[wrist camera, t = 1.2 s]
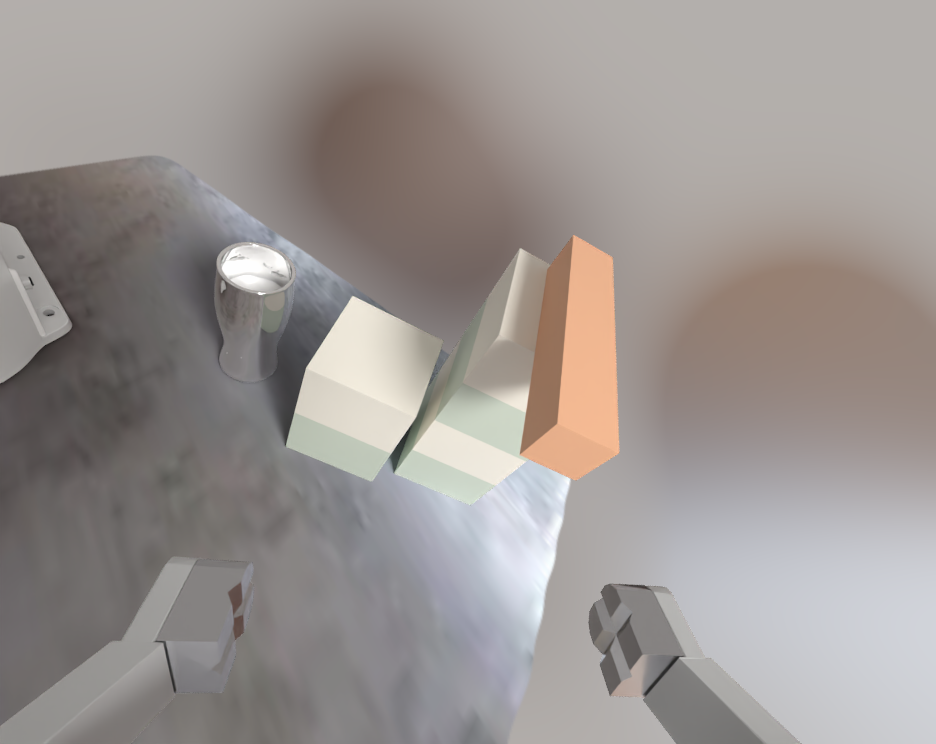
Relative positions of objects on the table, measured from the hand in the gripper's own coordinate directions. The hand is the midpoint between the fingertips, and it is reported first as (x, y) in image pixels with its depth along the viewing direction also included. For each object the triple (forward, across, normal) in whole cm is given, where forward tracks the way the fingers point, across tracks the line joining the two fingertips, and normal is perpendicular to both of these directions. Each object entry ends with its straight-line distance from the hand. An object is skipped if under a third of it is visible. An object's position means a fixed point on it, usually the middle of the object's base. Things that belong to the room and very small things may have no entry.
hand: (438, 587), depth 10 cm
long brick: (+22, -11, +4) cm, 25 cm away
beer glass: (+40, +18, +20) cm, 48 cm away
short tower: (+35, +5, +24) cm, 43 cm away
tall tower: (+36, -7, +26) cm, 45 cm away
